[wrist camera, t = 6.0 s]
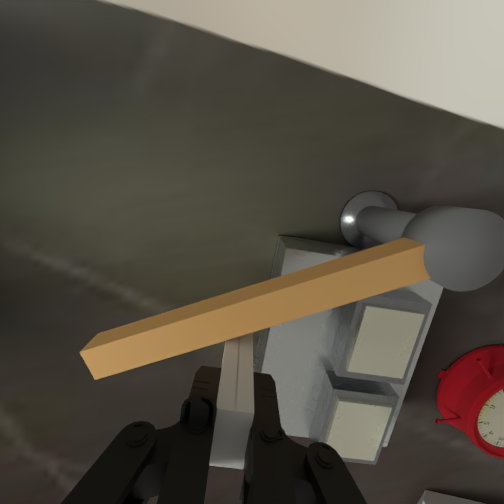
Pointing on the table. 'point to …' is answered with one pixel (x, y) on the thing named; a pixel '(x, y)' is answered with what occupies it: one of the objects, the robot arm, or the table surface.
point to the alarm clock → (476, 397)
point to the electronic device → (443, 499)
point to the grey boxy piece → (346, 349)
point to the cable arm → (320, 285)
